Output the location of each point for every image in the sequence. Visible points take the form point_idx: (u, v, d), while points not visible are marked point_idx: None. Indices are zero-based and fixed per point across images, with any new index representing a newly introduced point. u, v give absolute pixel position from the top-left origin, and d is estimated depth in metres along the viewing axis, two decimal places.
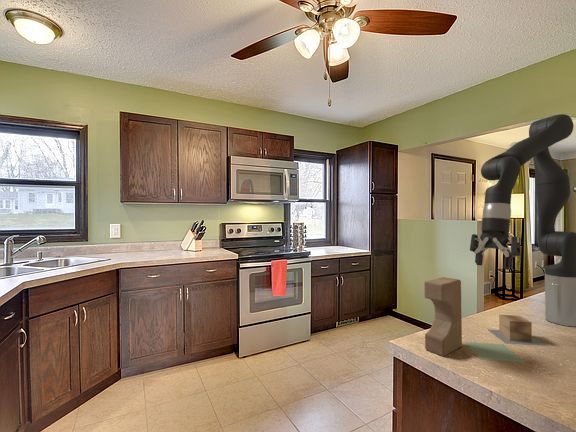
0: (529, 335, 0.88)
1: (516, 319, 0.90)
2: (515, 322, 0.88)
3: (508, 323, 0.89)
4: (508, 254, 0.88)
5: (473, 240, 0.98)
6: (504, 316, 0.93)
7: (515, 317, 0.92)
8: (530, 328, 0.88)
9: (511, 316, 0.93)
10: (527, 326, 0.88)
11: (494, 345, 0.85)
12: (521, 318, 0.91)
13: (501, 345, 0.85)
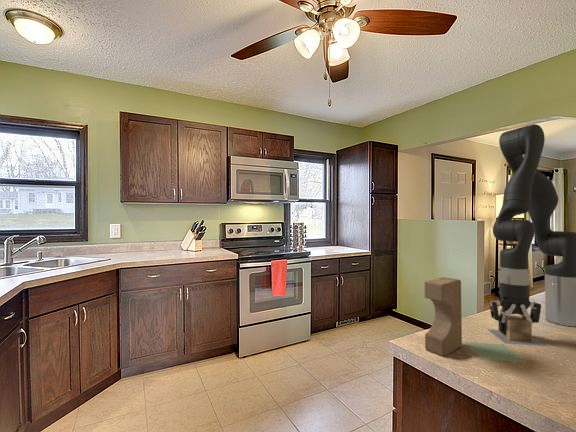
0: (529, 335, 0.88)
1: (516, 319, 0.90)
2: (515, 322, 0.88)
3: (508, 323, 0.89)
4: (531, 321, 0.89)
5: (496, 308, 0.91)
6: None
7: (515, 317, 0.92)
8: (530, 328, 0.88)
9: (511, 316, 0.93)
10: (527, 326, 0.88)
11: (494, 345, 0.85)
12: (521, 318, 0.91)
13: (501, 345, 0.85)
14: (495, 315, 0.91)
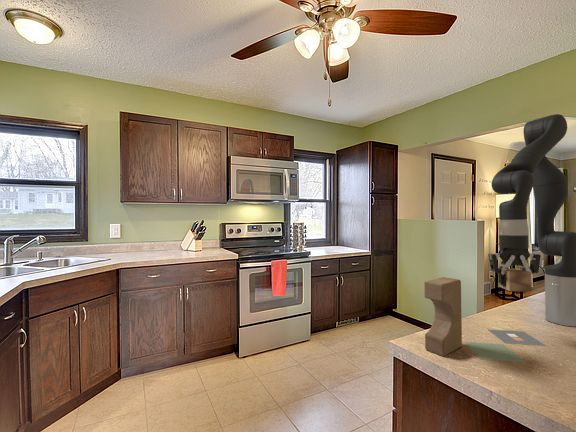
0: (529, 285, 0.88)
1: (515, 271, 0.90)
2: (514, 273, 0.88)
3: (508, 274, 0.89)
4: None
5: (495, 260, 0.91)
6: None
7: (515, 269, 0.92)
8: (530, 278, 0.88)
9: (511, 269, 0.93)
10: (526, 276, 0.88)
11: (494, 345, 0.85)
12: (520, 270, 0.91)
13: (501, 345, 0.85)
14: (495, 267, 0.91)
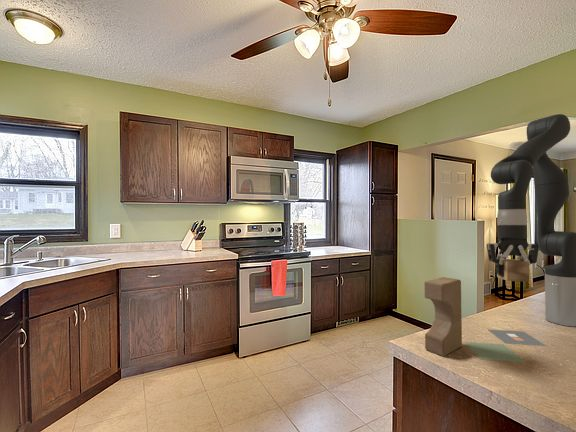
0: (527, 275, 0.87)
1: (513, 260, 0.89)
2: (512, 263, 0.88)
3: (506, 264, 0.89)
4: None
5: (494, 250, 0.91)
6: None
7: (513, 260, 0.91)
8: (528, 268, 0.87)
9: (509, 259, 0.92)
10: (524, 266, 0.87)
11: (494, 345, 0.85)
12: (519, 260, 0.90)
13: (501, 345, 0.85)
14: (493, 257, 0.91)
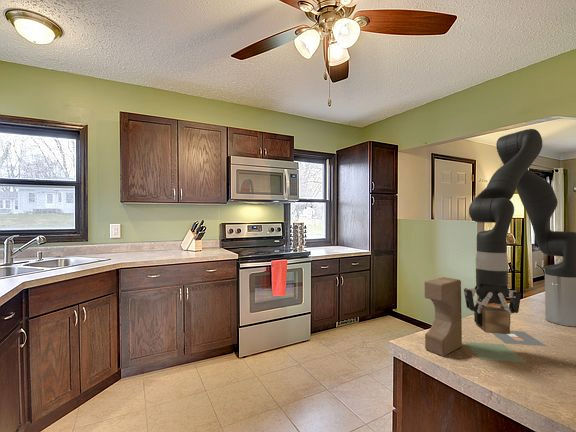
0: (507, 327, 0.78)
1: (493, 309, 0.80)
2: (491, 313, 0.79)
3: (484, 314, 0.80)
4: (510, 311, 0.80)
5: (471, 297, 0.81)
6: None
7: (493, 307, 0.82)
8: (508, 319, 0.78)
9: (488, 306, 0.83)
10: (505, 317, 0.78)
11: (494, 345, 0.85)
12: (499, 308, 0.81)
13: (501, 345, 0.85)
14: (470, 305, 0.81)
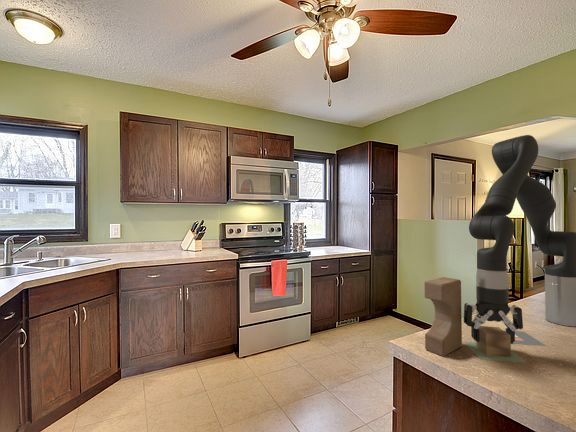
0: (508, 350, 0.78)
1: (493, 332, 0.80)
2: (492, 335, 0.79)
3: (485, 336, 0.80)
4: (514, 327, 0.79)
5: (470, 313, 0.81)
6: (481, 328, 0.83)
7: (493, 329, 0.82)
8: (509, 341, 0.78)
9: (489, 328, 0.83)
10: (505, 340, 0.78)
11: None
12: (500, 330, 0.81)
13: None
14: (468, 320, 0.82)
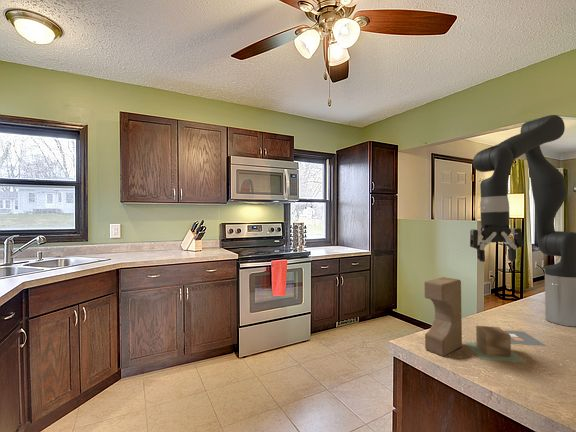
0: (508, 350, 0.78)
1: (493, 332, 0.80)
2: (492, 335, 0.79)
3: (485, 336, 0.80)
4: (515, 246, 0.89)
5: (476, 236, 0.91)
6: (481, 328, 0.83)
7: (493, 329, 0.82)
8: (509, 341, 0.78)
9: (489, 328, 0.83)
10: (505, 340, 0.78)
11: None
12: (500, 330, 0.81)
13: None
14: (474, 242, 0.91)
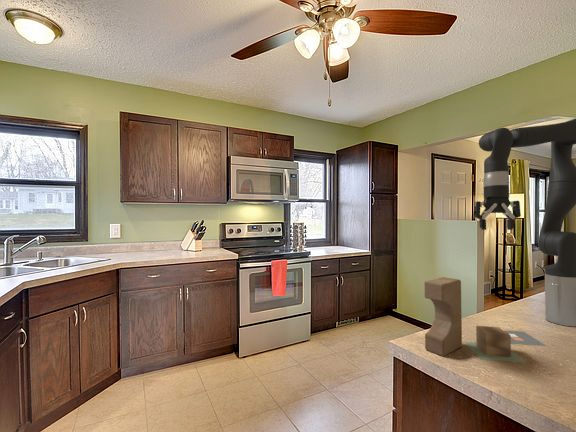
0: (508, 350, 0.78)
1: (493, 332, 0.80)
2: (492, 335, 0.79)
3: (485, 336, 0.80)
4: (514, 216, 1.01)
5: (479, 207, 1.03)
6: (481, 328, 0.83)
7: (493, 329, 0.82)
8: (509, 341, 0.78)
9: (489, 328, 0.83)
10: (505, 340, 0.78)
11: None
12: (500, 330, 0.81)
13: None
14: (477, 213, 1.03)
